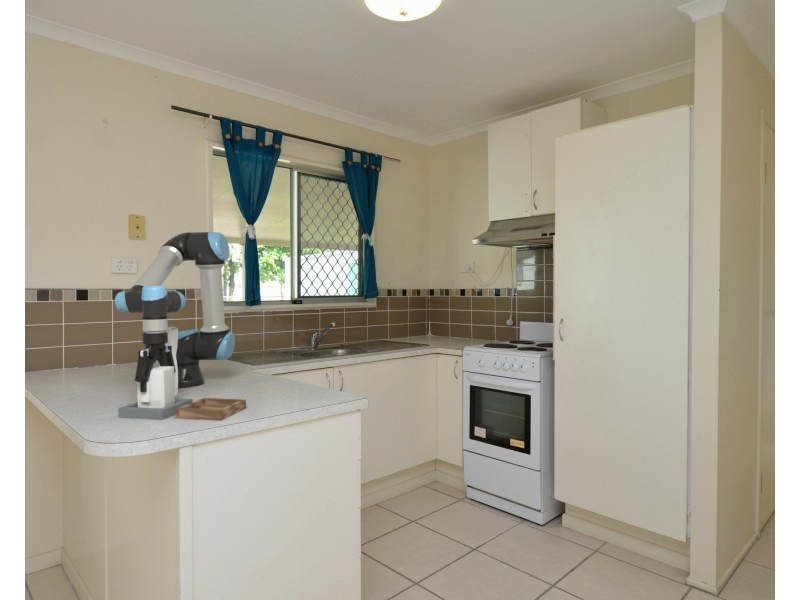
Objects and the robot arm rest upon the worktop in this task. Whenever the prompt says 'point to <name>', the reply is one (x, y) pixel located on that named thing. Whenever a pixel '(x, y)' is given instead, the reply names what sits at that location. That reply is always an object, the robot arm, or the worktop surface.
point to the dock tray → (210, 409)
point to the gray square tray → (151, 410)
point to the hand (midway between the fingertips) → (156, 398)
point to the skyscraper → (173, 352)
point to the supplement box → (159, 388)
